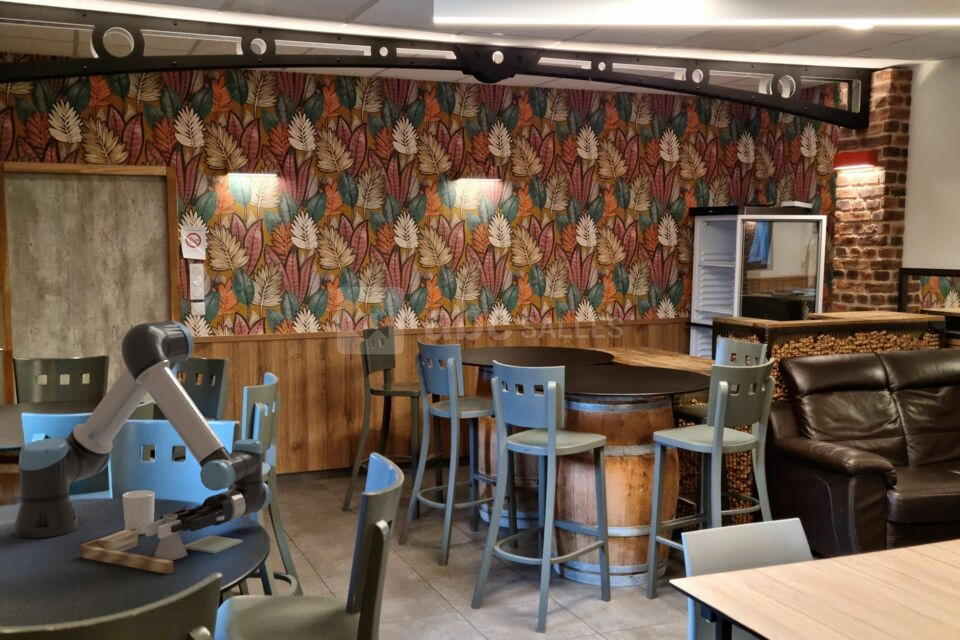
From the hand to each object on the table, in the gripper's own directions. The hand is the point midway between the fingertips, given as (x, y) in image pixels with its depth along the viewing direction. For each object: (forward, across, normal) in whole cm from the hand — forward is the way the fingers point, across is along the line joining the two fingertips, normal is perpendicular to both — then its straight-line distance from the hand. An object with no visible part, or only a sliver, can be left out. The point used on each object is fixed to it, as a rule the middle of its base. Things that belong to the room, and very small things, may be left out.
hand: (153, 531), depth 212 cm
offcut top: (-5, +16, -6) cm, 18 cm away
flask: (-5, 0, -8) cm, 10 cm away
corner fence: (-4, +6, -8) cm, 11 cm away
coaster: (-17, -2, -8) cm, 19 cm away
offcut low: (-5, +17, -8) cm, 19 cm away
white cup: (-18, +24, -8) cm, 31 cm away
